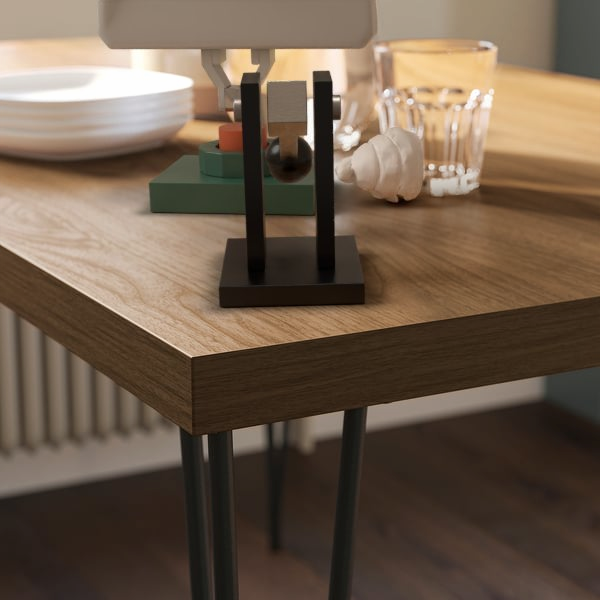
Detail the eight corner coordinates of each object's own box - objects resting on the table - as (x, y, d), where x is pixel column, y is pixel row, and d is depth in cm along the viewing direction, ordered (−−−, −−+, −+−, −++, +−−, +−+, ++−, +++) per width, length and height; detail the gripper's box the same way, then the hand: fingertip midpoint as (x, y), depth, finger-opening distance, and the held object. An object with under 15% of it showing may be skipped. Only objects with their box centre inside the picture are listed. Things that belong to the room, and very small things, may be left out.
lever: (265, 188, 78) (264, 142, 79) (313, 187, 78) (312, 140, 79) (258, 130, 65) (257, 73, 65) (316, 128, 65) (315, 72, 65)
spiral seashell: (327, 197, 89) (326, 125, 87) (403, 191, 90) (404, 120, 88) (345, 214, 84) (344, 138, 82) (426, 208, 85) (426, 133, 83)
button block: (332, 183, 93) (332, 133, 92) (313, 215, 84) (312, 159, 82) (185, 181, 95) (182, 132, 94) (150, 212, 85) (146, 158, 84)
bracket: (228, 256, 74) (219, 67, 70) (354, 253, 74) (353, 63, 70) (219, 307, 65) (209, 91, 61) (365, 303, 65) (363, 87, 61)
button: (271, 145, 89) (270, 122, 89) (262, 154, 86) (261, 130, 86) (225, 144, 90) (224, 122, 89) (214, 154, 87) (213, 130, 86)
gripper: (385, -89, 84) (384, 104, 88) (109, -84, 87) (122, 103, 92) (376, -89, 78) (376, 119, 83) (81, -83, 81) (96, 117, 86)
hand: (240, 110), depth 87 cm, fingers closed
